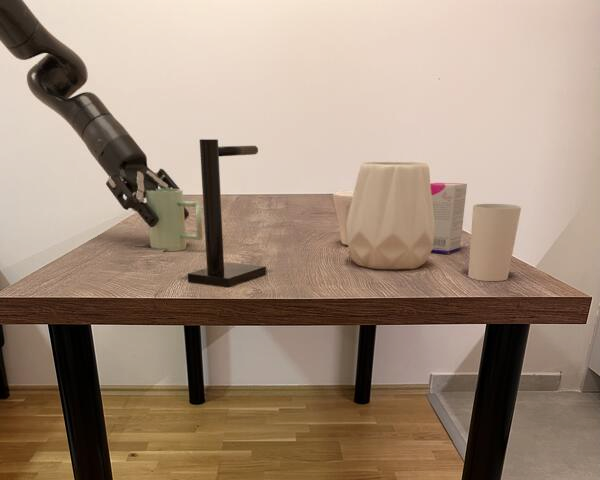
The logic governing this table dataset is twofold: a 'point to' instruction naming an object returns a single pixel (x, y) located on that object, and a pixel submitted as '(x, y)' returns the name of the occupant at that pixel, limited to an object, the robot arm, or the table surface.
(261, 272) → the mug rack
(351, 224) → the vase
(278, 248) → the table surface
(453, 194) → the supplement box
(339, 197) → the cup
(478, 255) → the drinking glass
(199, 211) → the mug
